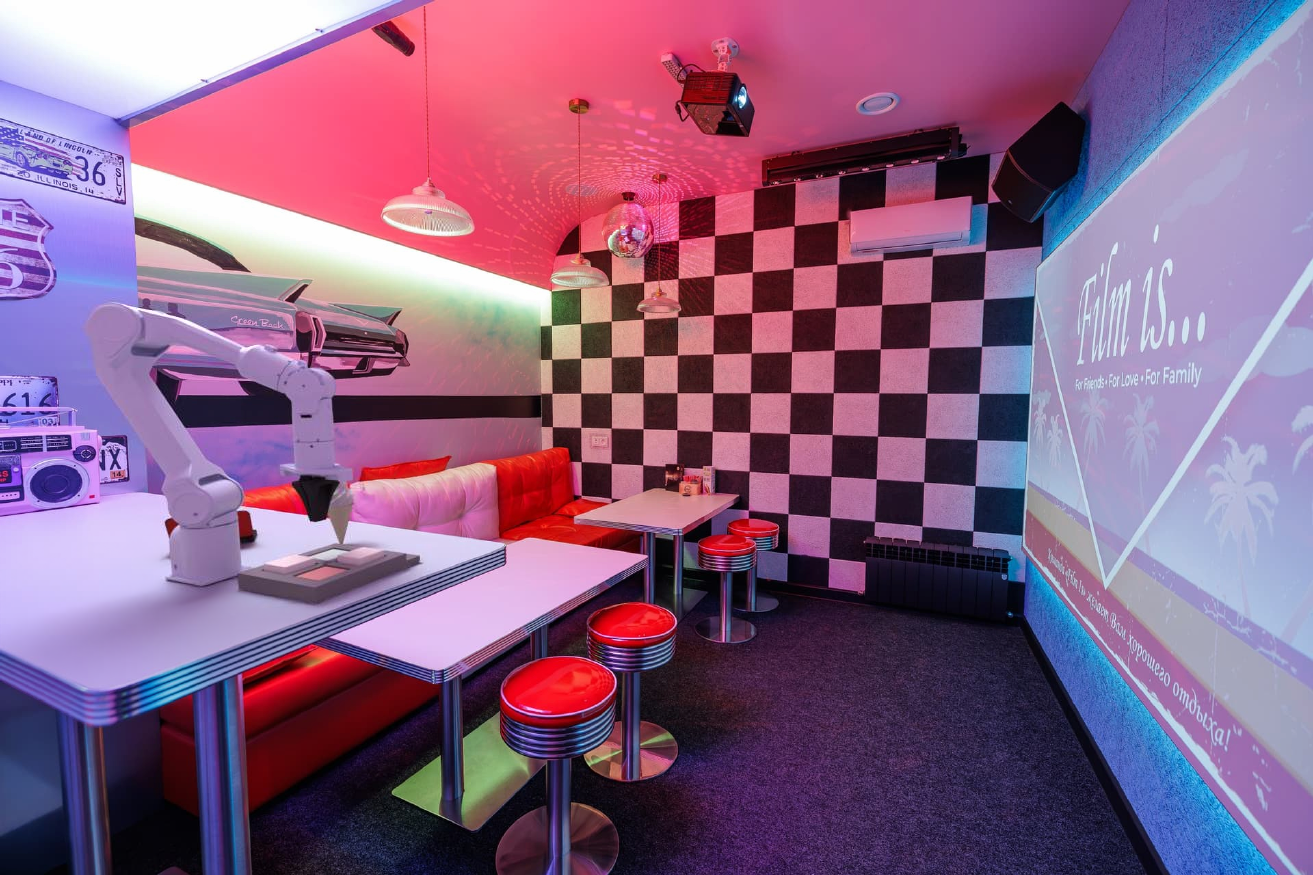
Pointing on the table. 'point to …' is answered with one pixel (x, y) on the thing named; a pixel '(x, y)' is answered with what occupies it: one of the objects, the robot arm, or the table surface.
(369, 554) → the ivory key
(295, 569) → the ivory key
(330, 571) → the coral key
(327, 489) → the robot arm
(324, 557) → the mint key
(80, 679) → the table surface
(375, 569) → the keypad frame
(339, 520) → the ice cream cone
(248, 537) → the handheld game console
